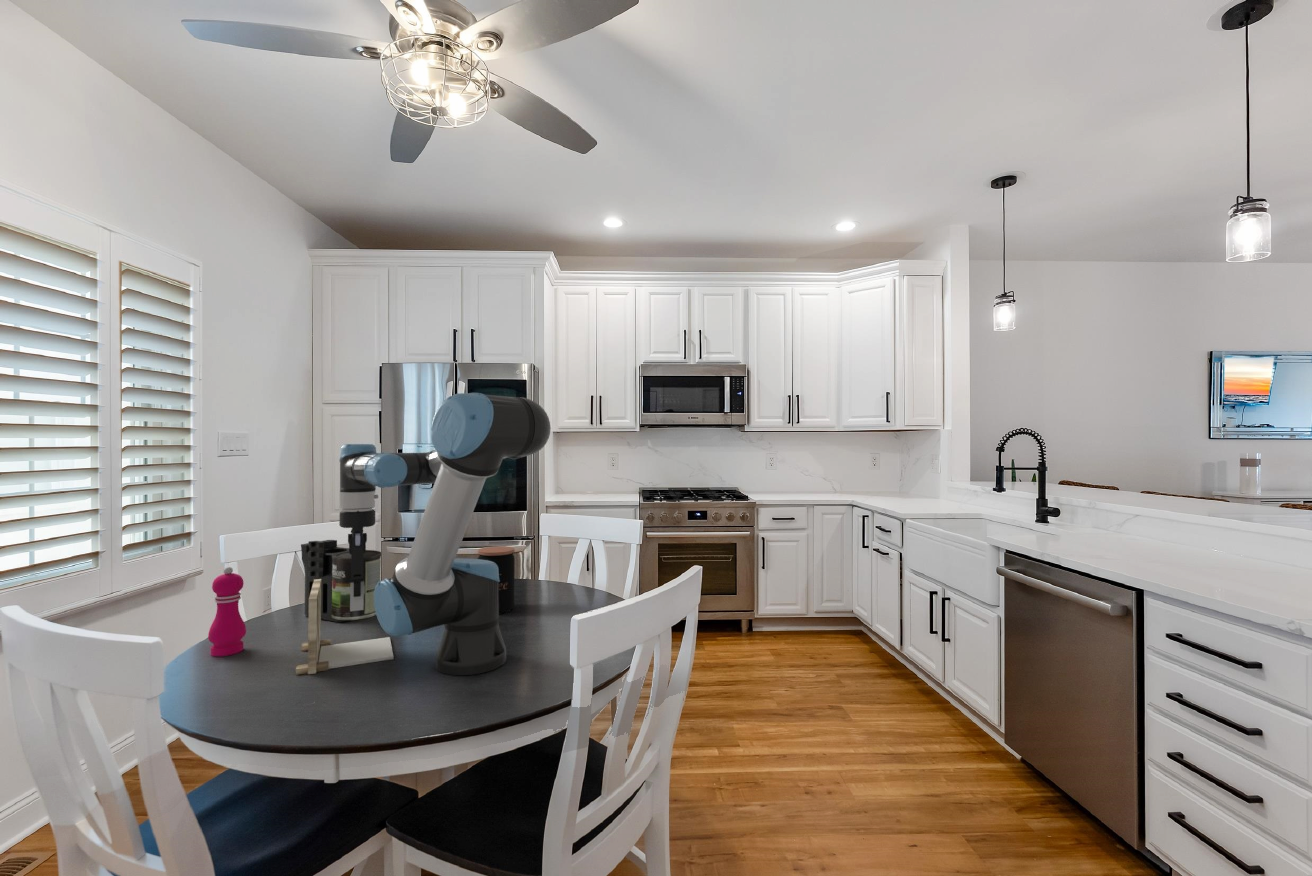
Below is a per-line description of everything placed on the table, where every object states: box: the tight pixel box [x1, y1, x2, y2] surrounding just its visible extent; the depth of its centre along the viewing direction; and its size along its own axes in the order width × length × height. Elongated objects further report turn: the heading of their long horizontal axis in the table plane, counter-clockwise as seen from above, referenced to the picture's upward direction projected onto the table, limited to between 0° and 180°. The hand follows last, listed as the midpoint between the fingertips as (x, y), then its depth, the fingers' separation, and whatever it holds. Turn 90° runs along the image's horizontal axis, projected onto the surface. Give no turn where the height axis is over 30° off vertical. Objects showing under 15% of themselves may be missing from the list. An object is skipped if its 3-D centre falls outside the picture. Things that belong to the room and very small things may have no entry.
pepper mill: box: [207, 566, 247, 658], centre depth 138 cm, size 7×7×20 cm
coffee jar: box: [477, 545, 516, 614], centre depth 173 cm, size 11×11×18 cm
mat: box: [318, 636, 394, 670], centre depth 137 cm, size 15×15×1 cm
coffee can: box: [331, 549, 382, 621], centre depth 137 cm, size 10×10×14 cm
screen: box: [295, 579, 332, 676], centre depth 134 cm, size 20×6×16 cm, turn 28°
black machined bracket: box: [300, 539, 352, 623], centre depth 166 cm, size 12×21×22 cm, turn 67°
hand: (356, 604), depth 137 cm, fingers closed on coffee can, 10 cm apart
